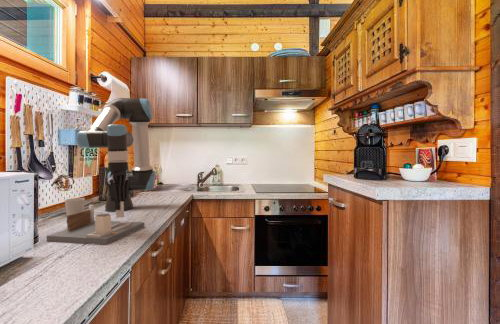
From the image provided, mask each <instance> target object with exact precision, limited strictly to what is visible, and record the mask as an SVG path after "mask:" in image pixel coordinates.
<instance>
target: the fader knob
mask: <svg viewBox="0 0 500 324" xmlns="http://www.w3.org/2000/svg"><path fill="white" fill-rule="evenodd" d="M94 220H95V228H96V234H99V235H101V234H104V233H106V232H109V231H111V221H112V216H111V214H110V213H100V214H99V213H98V214H96V215H95V216H94Z"/></svg>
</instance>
